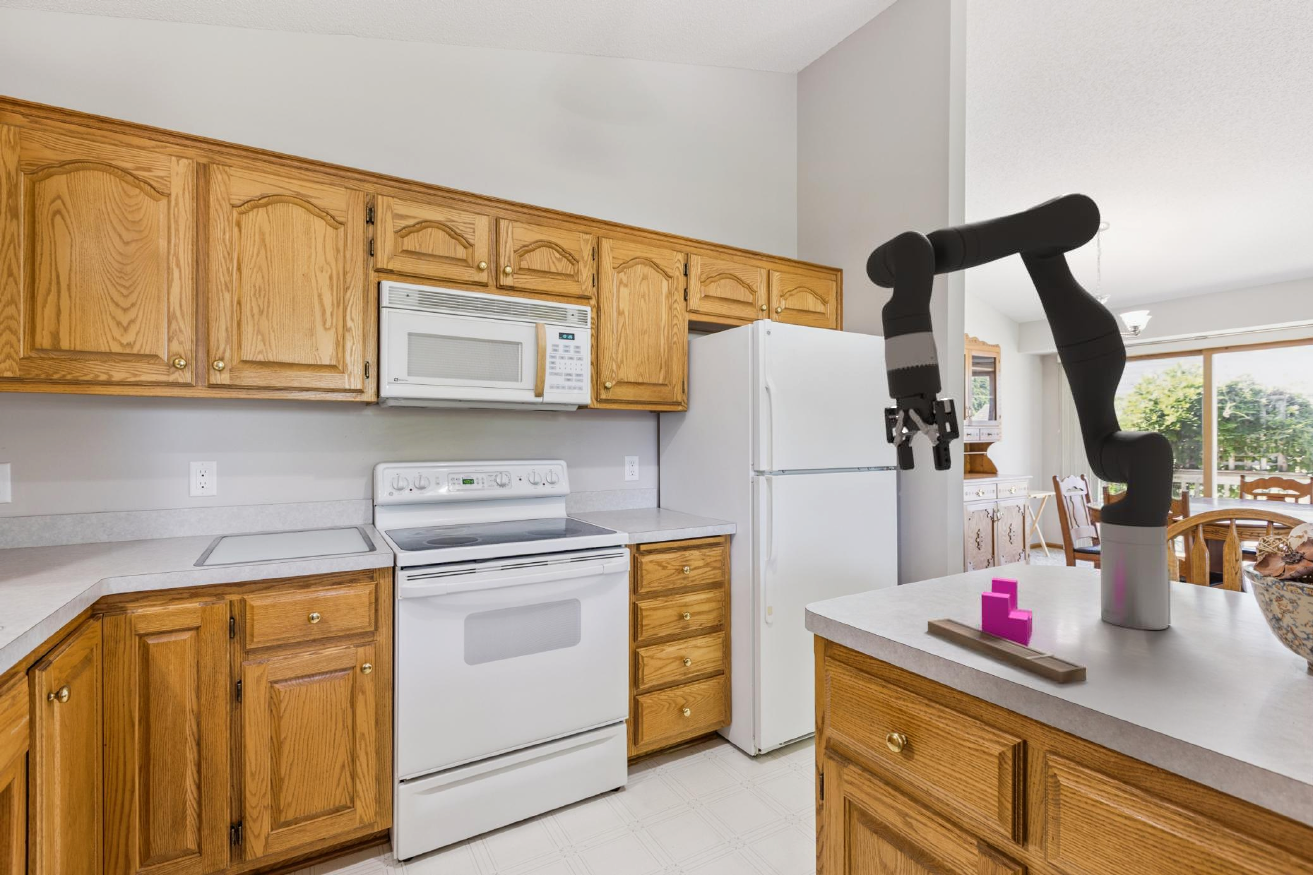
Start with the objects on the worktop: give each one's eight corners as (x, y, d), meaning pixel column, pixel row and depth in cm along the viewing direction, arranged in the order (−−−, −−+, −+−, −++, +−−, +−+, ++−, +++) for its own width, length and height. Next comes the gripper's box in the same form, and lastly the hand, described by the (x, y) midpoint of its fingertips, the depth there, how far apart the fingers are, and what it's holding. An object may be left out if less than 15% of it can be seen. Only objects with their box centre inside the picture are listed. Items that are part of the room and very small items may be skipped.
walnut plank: (949, 628, 106) (949, 618, 106) (1086, 679, 83) (1086, 666, 83) (927, 630, 104) (927, 620, 104) (1060, 684, 81) (1060, 670, 81)
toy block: (1027, 649, 96) (1026, 600, 96) (981, 641, 99) (981, 594, 99) (1034, 625, 108) (1034, 581, 108) (993, 619, 112) (993, 577, 112)
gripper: (965, 356, 90) (978, 467, 90) (904, 370, 104) (916, 466, 104) (920, 360, 89) (933, 473, 88) (864, 374, 102) (876, 472, 102)
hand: (924, 469), depth 96 cm, fingers open, 8 cm apart
